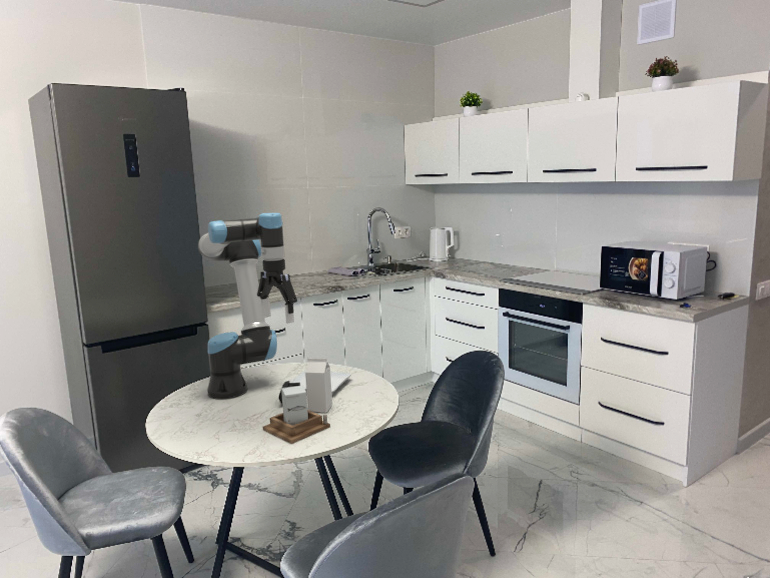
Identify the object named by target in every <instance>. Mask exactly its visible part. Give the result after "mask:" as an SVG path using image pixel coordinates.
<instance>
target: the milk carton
mask: <svg viewBox="0 0 770 578" xmlns="http://www.w3.org/2000/svg"><path fill="white" fill-rule="evenodd" d="M327 360H328V359H327V358H314V357H313V358H310V357H307V363H306V367H305V370H306V371H305V370H304V371H305V377H306V391H307V393H306V394H307V410H309V411H312V412H314V413H327V412H328V411H329V410H330V408H332V406H333V394H332V390H331V374H330V371H331V365H330V364H329V363H328V361H327Z"/></svg>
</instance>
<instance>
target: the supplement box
mask: <svg viewBox="0 0 770 578" xmlns="http://www.w3.org/2000/svg"><path fill="white" fill-rule="evenodd" d="M281 388H282V387H281ZM281 388H280V391H281V390H282V403H283V404H282V413H283V417H284V422H285V423H288V424H290V425H292V426H293V425H296V424H298V423H301V422H303V421H306V420H308V411H307V410H308V405H307V393H306V391H305V389H304V387H303V385H302V386H295V387H288V388H282V389H281Z"/></svg>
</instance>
